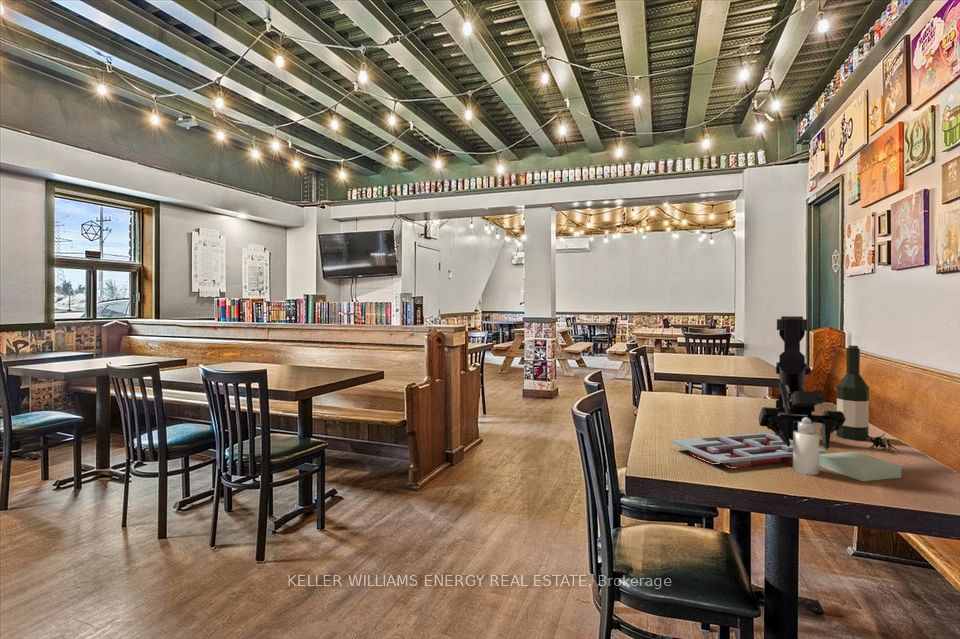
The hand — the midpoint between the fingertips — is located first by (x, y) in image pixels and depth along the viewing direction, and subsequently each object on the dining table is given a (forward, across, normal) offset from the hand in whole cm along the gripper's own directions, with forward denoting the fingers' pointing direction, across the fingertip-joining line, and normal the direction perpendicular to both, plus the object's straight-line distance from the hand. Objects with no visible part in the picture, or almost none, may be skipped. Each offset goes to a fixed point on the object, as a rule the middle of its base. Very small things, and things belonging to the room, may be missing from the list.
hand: (808, 447), depth 122 cm
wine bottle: (-26, +26, +36) cm, 52 cm away
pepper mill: (+4, 0, +6) cm, 7 cm away
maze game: (-4, -11, +14) cm, 19 cm away
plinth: (+1, +13, +8) cm, 15 cm away
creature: (-15, +28, +25) cm, 40 cm away
